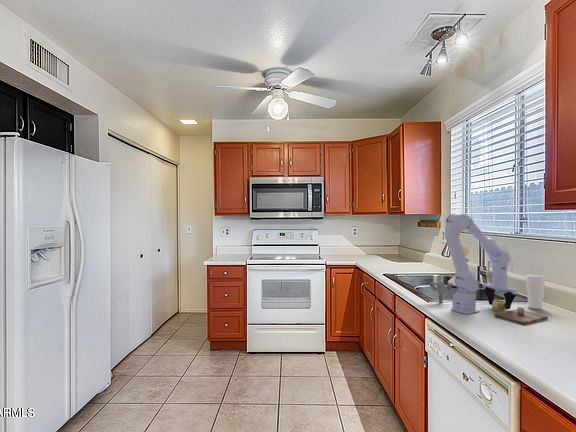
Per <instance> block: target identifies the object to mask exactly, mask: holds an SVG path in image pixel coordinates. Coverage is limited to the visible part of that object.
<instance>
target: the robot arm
mask: <svg viewBox="0 0 576 432" xmlns="http://www.w3.org/2000/svg"><path fill="white" fill-rule="evenodd" d="M444 222H445V227H444V232H443V233H444V238H445V241H446V244H447V247H448V250H449V253H450V256H451V259H452V262H453V267H454V269H455V273H453V274H454V276H455V284H456V286H455V287H457V291H456V292H454V293H453V295H452V304H451V305H452V308H450V310H451V311H454V312H457V313H461V314H464V315H469V314H470V315H471V314H476V313H479V312H481V310H479V309H476V307H477V306H476V302H477V299H476V297H477V295H476V294H477V291H478V289H479V287H480V282H479V280H478V279H476V277H475V275H474V273H473V272H472V271H471V270H470V267H469V265H468V262H467V261H466V258H467V257H466V256H465V255H464V252H463V249H462V246H461V245H462V244H461V240H460V237H459V236H460V235H461V234H462V233H463V232H464V231H465V230H467V231H468V232H469V233H470V234H471V235H472V236H473V237H474V238H475V239H477V241H478V242H479V246H480V248H481V249H483V250H484V252H485V253H486V254H487V255H488V258H489V260H490V261H492V264H491V268H492V270H491V273H492V275H491V276H492V277H491V280H492V281H491V283H486V282H485V283H482V288H483V292H484V294H485V295H486V298H487V301H488V304H489V305H490V306H492V300H495V292H496V291H498V292H504V293H503V296H504V301H505V307H506V309H507V310H510V309H511V307H512V304H513V301H514V300H515V298H516V296H517V295H518V289H517V288H513V287H510V286H508V267H509V263H510V261H511V257H510V255H509V253H508V251H505V250H503V248H502V246H499V244H497V243H496V239H494V238H491V237H487V236H486V235H485V233H484V232H483V231H482V230H481V229H480V228H479V226H478V225H477V224H476V223H475V221H474V219H473V218H472V217H470V216H469V215H468V214H467V213H451V214H448V216H447V217H446V219H445V220H444Z"/></svg>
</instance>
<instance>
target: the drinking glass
mask: <svg viewBox="0 0 576 432" xmlns="http://www.w3.org/2000/svg"><path fill="white" fill-rule="evenodd" d="M525 281H526V282H525V284H526V294H527V306H528V308H529V309H533V310H542V309H543V302H544V301H543V299H544V292H545V276H544V275H541V274H529V273H528V274H526V279H525Z"/></svg>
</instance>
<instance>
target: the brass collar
mask: <svg viewBox="0 0 576 432" xmlns="http://www.w3.org/2000/svg"><path fill="white" fill-rule="evenodd" d="M491 310H492V311H494V312H497V313H501V312H506V311H508V309H506V307H505V300H502V299H494V300H492V305H491Z"/></svg>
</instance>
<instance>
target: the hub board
mask: <svg viewBox="0 0 576 432" xmlns="http://www.w3.org/2000/svg"><path fill="white" fill-rule="evenodd" d="M494 317H495V318H497V319H498V318H499V319H501V320H505V321H509V322H513V323H515V324H519V325H522V326H527V325H531V324H535V323H540V322H542V321H546V320H549V317H548V315H543V314H539V313H535V312H531V311H528V310H525V308H524V307H520V306H519V307H517V308H516V309H512V310H510V309H509V310H507V311H506V312H497V313H494Z"/></svg>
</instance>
